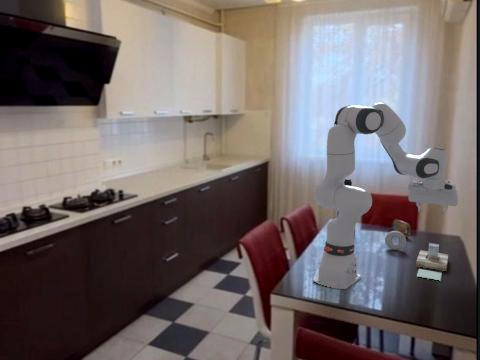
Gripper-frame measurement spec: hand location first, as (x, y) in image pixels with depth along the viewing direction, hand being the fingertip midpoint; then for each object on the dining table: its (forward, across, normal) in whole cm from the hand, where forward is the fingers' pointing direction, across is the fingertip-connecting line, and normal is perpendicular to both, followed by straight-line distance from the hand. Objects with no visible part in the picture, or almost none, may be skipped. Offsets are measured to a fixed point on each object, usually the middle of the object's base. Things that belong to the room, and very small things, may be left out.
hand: (431, 212), depth 178 cm
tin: (+25, -16, +37) cm, 48 cm away
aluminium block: (+24, +2, -2) cm, 24 cm away
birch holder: (+23, +2, -2) cm, 24 cm away
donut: (+24, -16, +9) cm, 30 cm away
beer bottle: (+25, -43, +19) cm, 54 cm away
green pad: (+23, +2, -18) cm, 29 cm away
